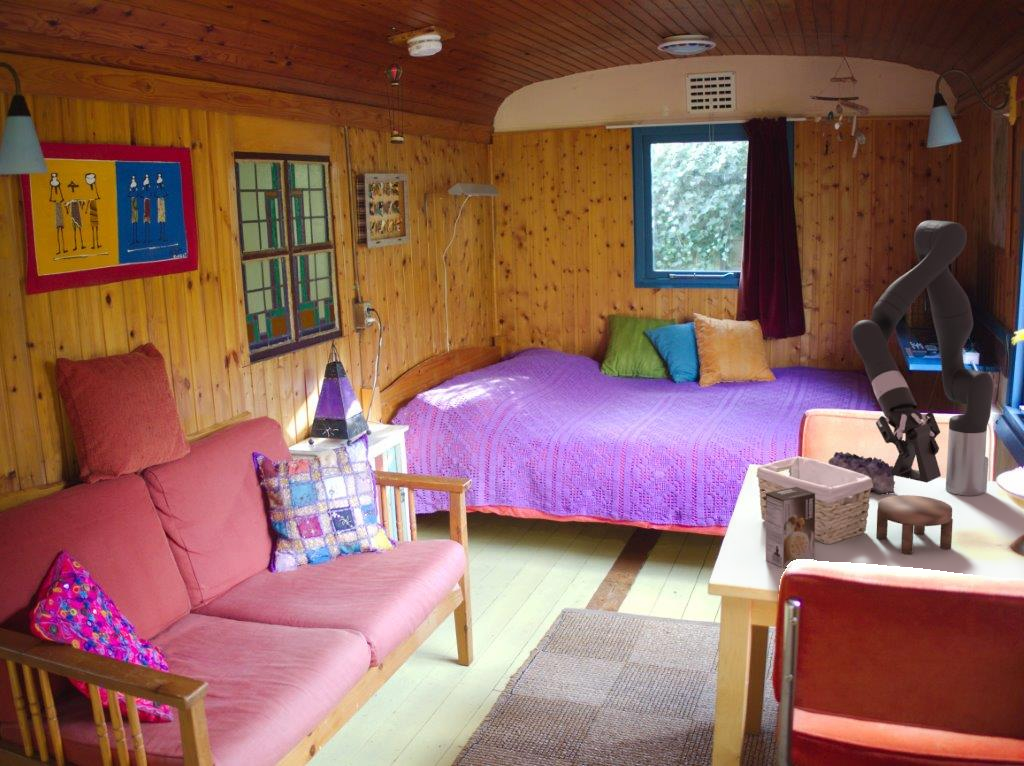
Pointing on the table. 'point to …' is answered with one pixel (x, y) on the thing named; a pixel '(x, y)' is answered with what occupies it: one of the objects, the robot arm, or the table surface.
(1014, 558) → the table surface
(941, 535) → the stool
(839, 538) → the storage basket
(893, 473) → the phone stand
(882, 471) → the geode
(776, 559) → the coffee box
